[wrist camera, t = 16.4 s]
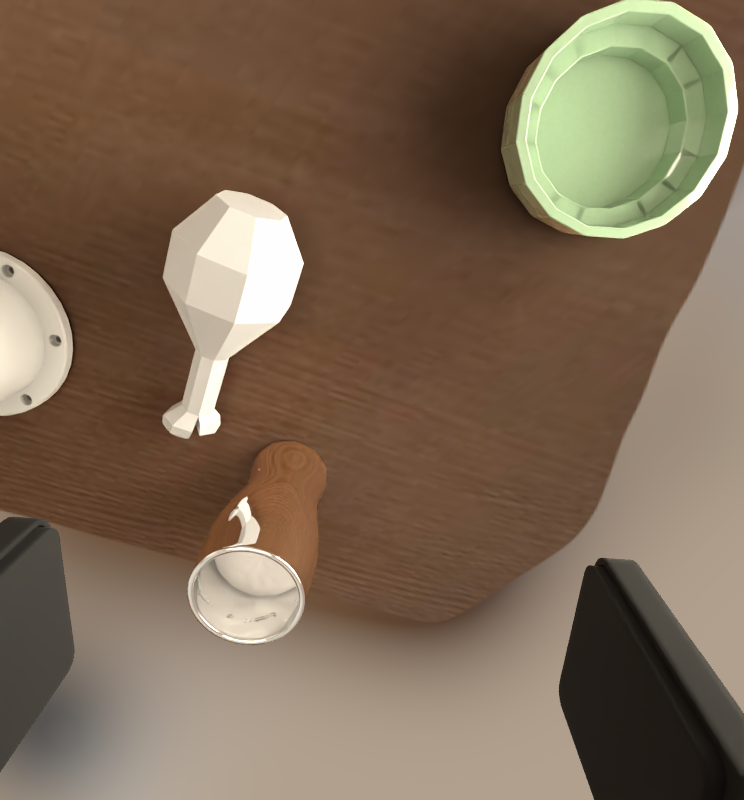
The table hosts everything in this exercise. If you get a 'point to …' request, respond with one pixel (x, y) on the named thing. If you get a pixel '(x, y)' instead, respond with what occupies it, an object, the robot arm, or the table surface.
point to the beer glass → (262, 550)
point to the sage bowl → (621, 120)
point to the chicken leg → (226, 292)
